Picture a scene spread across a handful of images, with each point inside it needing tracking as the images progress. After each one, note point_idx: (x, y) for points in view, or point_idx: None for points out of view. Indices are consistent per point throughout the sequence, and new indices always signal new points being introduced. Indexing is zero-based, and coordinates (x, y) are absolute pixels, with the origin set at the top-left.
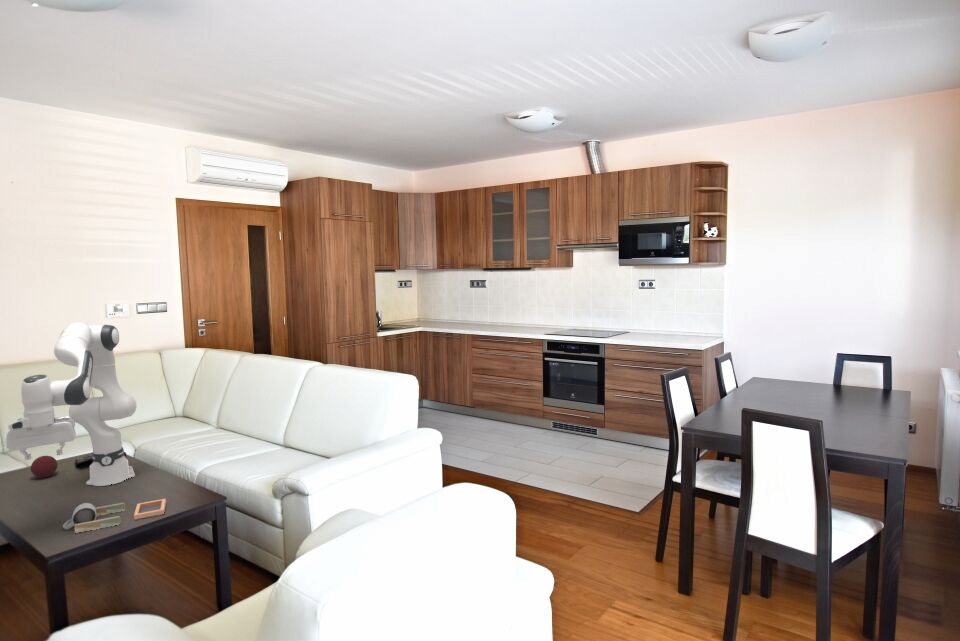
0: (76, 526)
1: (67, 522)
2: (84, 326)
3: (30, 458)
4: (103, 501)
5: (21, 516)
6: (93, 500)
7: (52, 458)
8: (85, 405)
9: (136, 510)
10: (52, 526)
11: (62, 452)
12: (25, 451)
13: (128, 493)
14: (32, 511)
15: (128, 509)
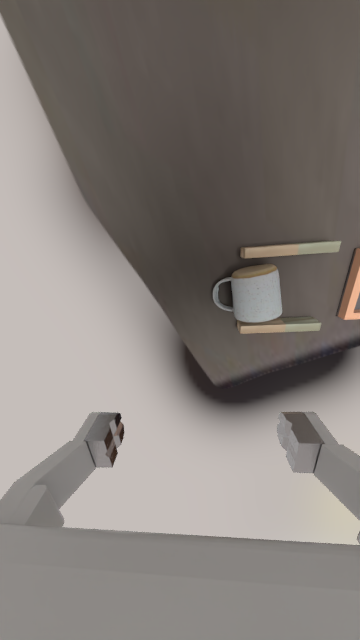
0: (243, 332)
1: (218, 285)
2: None
3: (119, 420)
4: (280, 135)
5: (93, 161)
6: (252, 106)
7: None
8: None
9: (354, 293)
10: (188, 270)
11: (316, 417)
12: (57, 471)
13: (355, 81)
14: (105, 128)
15: None
